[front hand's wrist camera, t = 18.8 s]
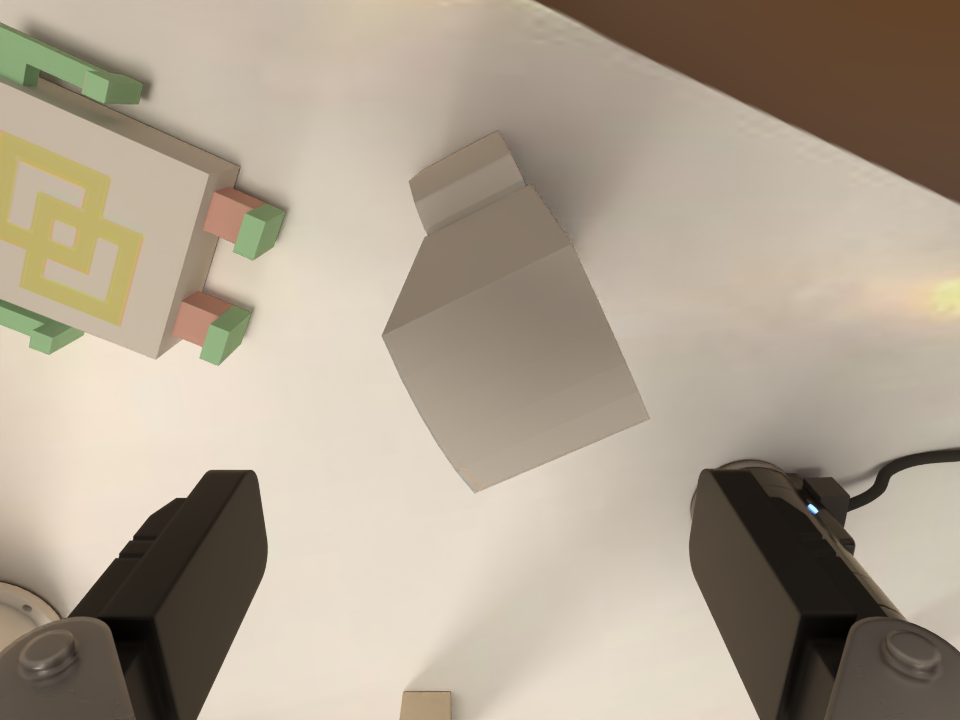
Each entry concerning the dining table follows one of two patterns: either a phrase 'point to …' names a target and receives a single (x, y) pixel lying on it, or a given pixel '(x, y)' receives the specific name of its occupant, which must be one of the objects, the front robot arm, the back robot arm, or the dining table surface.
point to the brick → (426, 706)
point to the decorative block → (111, 215)
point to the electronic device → (503, 325)
